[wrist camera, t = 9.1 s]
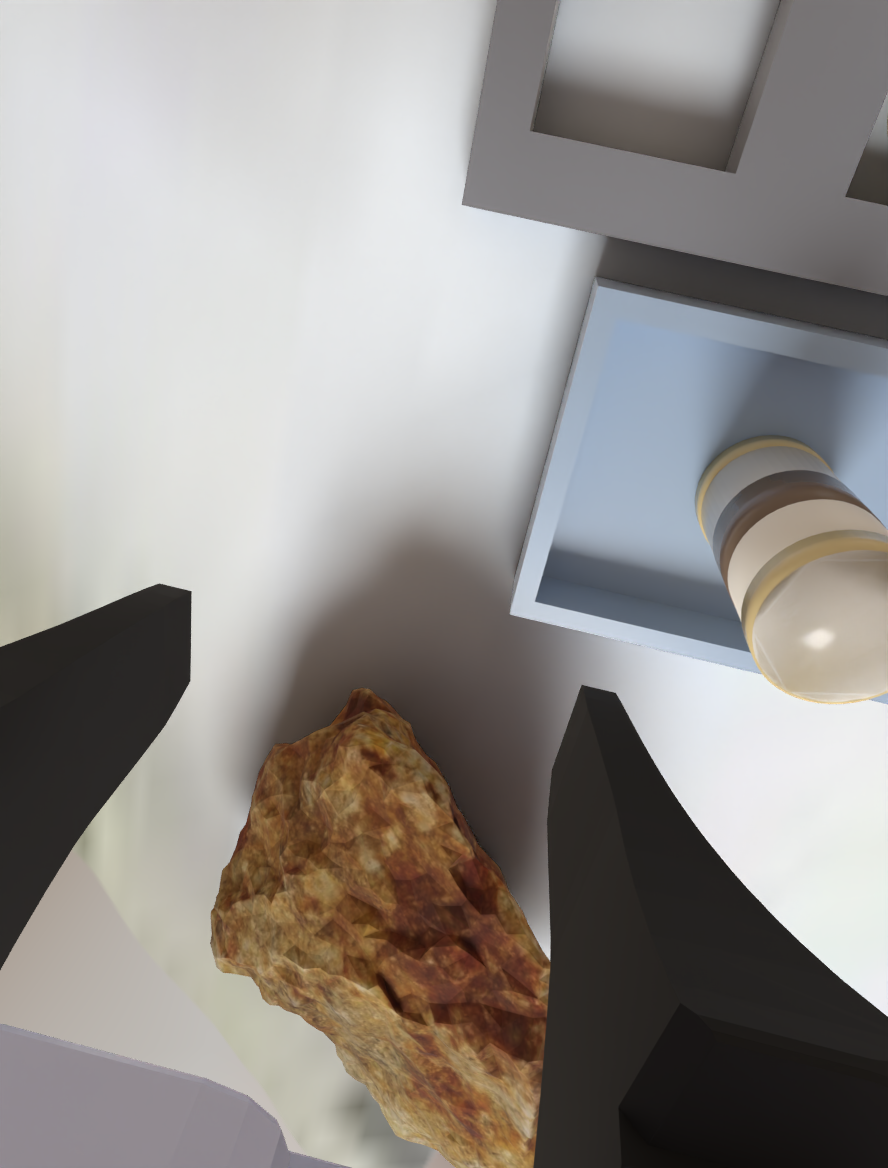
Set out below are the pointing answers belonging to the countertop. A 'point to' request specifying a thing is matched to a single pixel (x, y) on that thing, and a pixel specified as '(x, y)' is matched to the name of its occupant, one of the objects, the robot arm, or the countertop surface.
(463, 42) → the countertop surface
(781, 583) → the scorched fuse
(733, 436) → the parts tray
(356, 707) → the rock
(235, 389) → the countertop surface
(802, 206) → the fuse block
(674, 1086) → the robot arm
